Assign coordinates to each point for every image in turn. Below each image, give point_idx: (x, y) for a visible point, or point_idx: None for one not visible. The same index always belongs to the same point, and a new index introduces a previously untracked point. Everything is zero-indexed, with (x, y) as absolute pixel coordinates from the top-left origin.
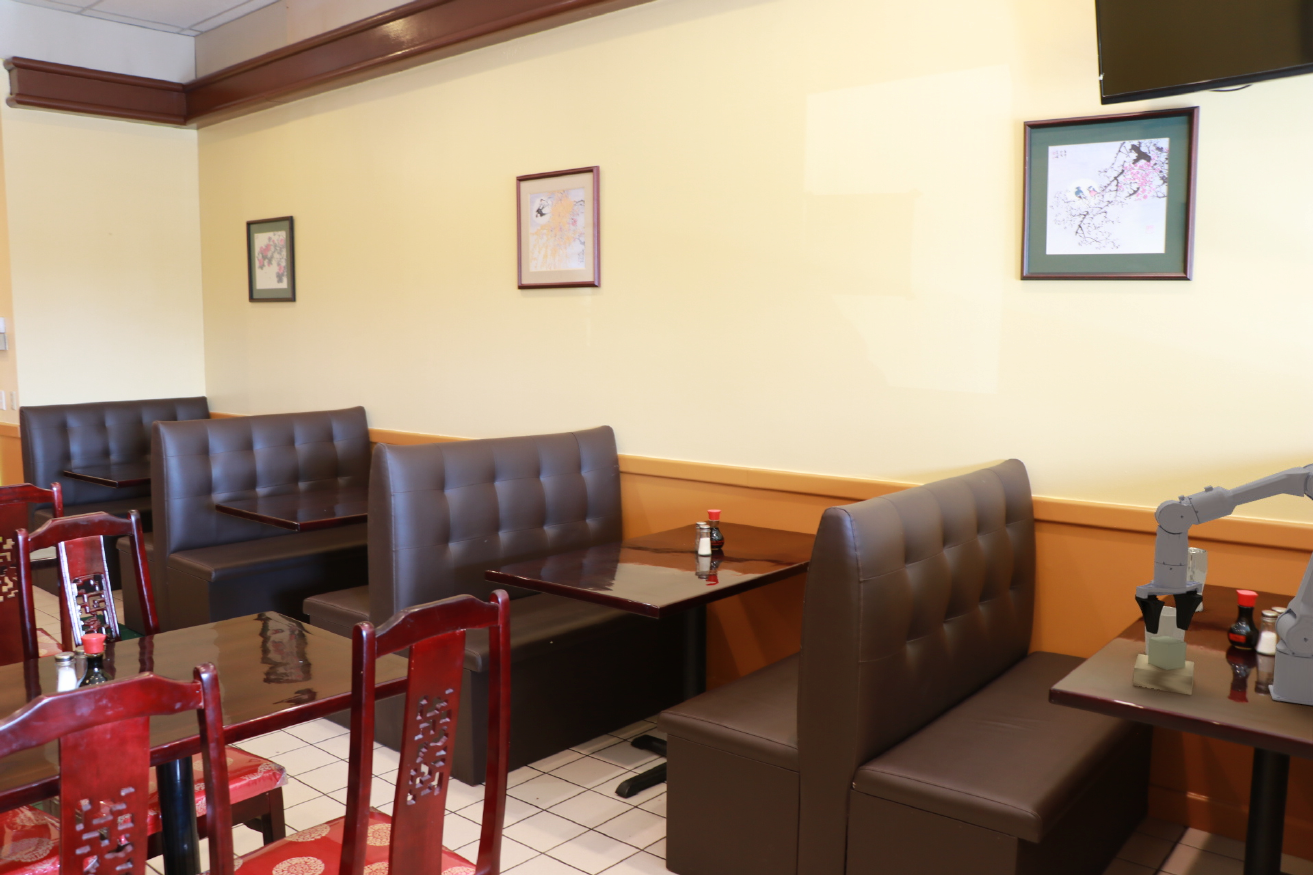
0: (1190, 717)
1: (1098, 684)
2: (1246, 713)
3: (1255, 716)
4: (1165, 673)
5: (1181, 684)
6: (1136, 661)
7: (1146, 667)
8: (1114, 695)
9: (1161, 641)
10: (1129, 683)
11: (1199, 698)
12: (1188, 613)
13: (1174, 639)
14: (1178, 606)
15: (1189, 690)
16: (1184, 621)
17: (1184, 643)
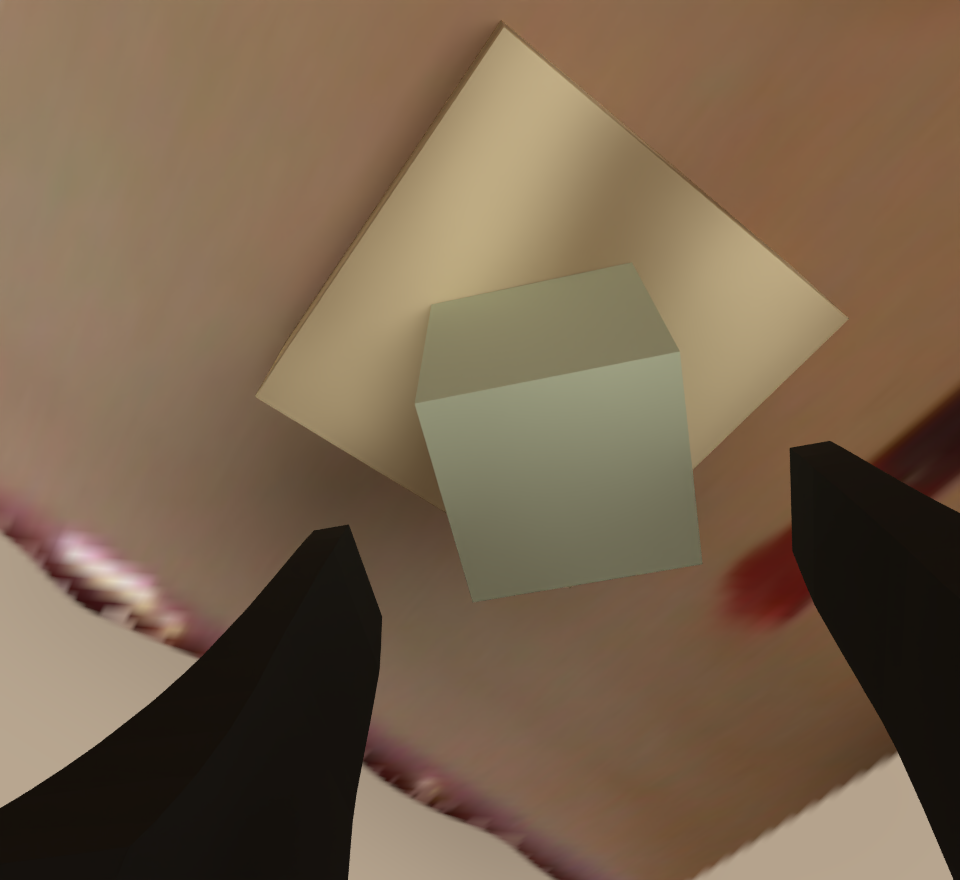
0: None
1: (48, 297)
2: (646, 728)
3: (658, 755)
4: (437, 503)
5: None
6: (354, 254)
7: (357, 400)
8: (89, 481)
9: (475, 513)
10: (279, 301)
11: None
12: (900, 735)
13: (661, 467)
14: (940, 640)
15: None
16: (837, 602)
17: (674, 563)
